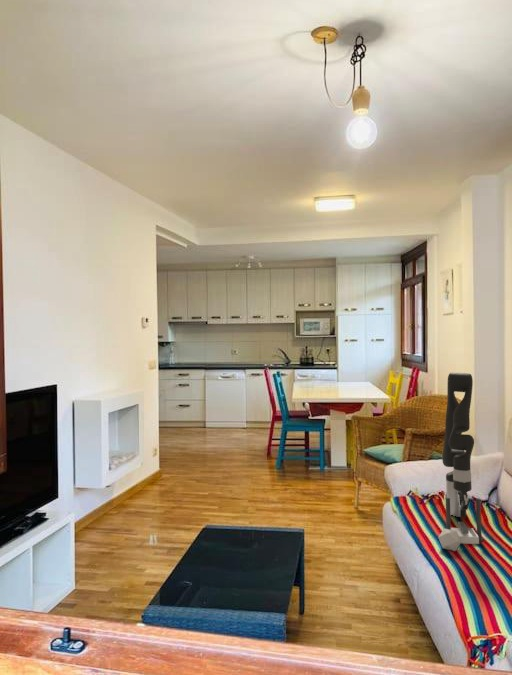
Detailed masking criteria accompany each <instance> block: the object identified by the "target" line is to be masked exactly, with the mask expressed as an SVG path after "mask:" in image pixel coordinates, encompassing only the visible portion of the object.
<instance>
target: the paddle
mask: <svg viewBox="0 0 512 675" xmlns="http://www.w3.org/2000/svg"><path fill="white" fill-rule="evenodd" d="M468 528H469V526H466V527H462V534H469V532H468Z"/></svg>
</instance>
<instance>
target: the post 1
mask: <svg viewBox="0 0 512 675" xmlns="http://www.w3.org/2000/svg"><path fill="white" fill-rule="evenodd" d="M445 517H446V518H445V520H446V522H445V524H446V526H445V527H446V528H445V529H450V530H451V528H452V527H451V525H452V524H451V515H450V498H447V497H445Z"/></svg>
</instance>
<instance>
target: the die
mask: <svg viewBox="0 0 512 675" xmlns="http://www.w3.org/2000/svg"><path fill="white" fill-rule="evenodd" d="M437 538H438V539H439V542H440V545H441V547H442V549H445V550H449V551H451V552H452V551H453V552H456V551H457V549H458V548H459V546H461V544H462V543H461V540H460V538H459V535H458V533H457V531H455V530H450V529H446V528H445V527H444V528H443V530H442V531H441V533H440V534H439V536H438V537H437Z"/></svg>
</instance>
